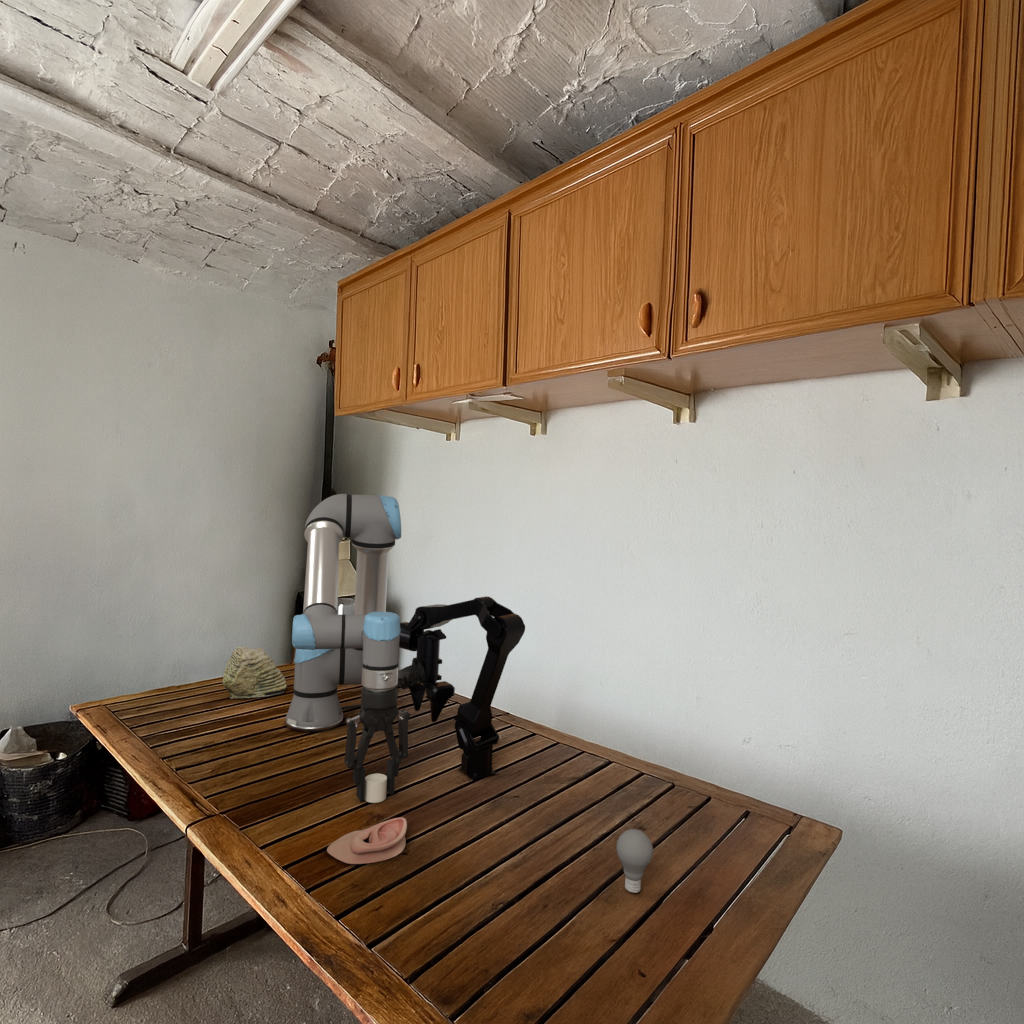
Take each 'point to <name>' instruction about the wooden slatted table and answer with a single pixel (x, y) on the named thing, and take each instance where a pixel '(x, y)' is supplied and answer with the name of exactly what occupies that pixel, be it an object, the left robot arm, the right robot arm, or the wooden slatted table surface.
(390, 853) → the anatomical model
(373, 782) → the can
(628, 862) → the light bulb
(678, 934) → the wooden slatted table surface
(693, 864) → the wooden slatted table surface
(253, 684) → the fossil
